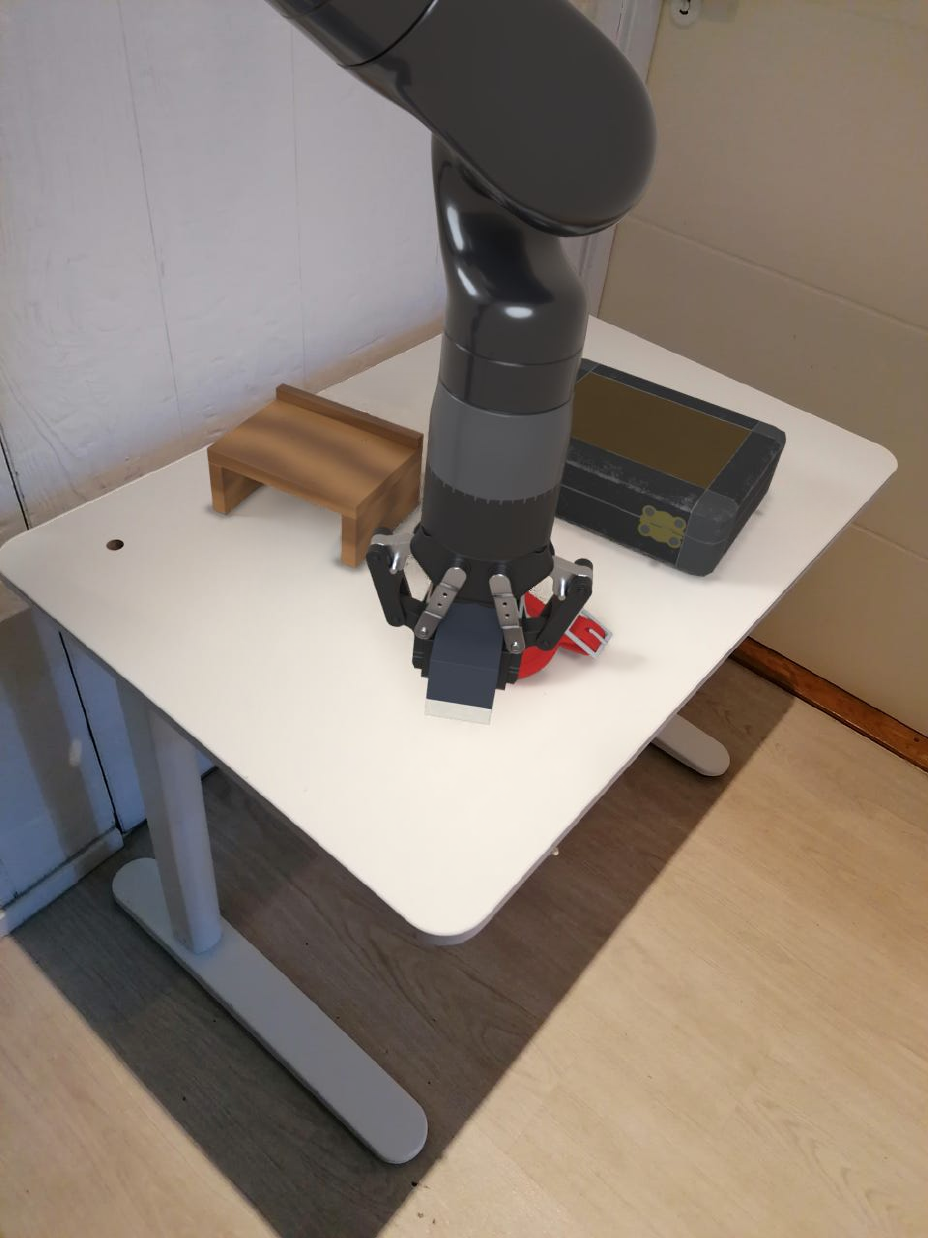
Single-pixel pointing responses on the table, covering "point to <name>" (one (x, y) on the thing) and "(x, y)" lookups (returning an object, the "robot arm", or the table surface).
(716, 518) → the cash box
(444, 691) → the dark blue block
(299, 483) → the shoe shelf
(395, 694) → the table surface
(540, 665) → the tracker holder
